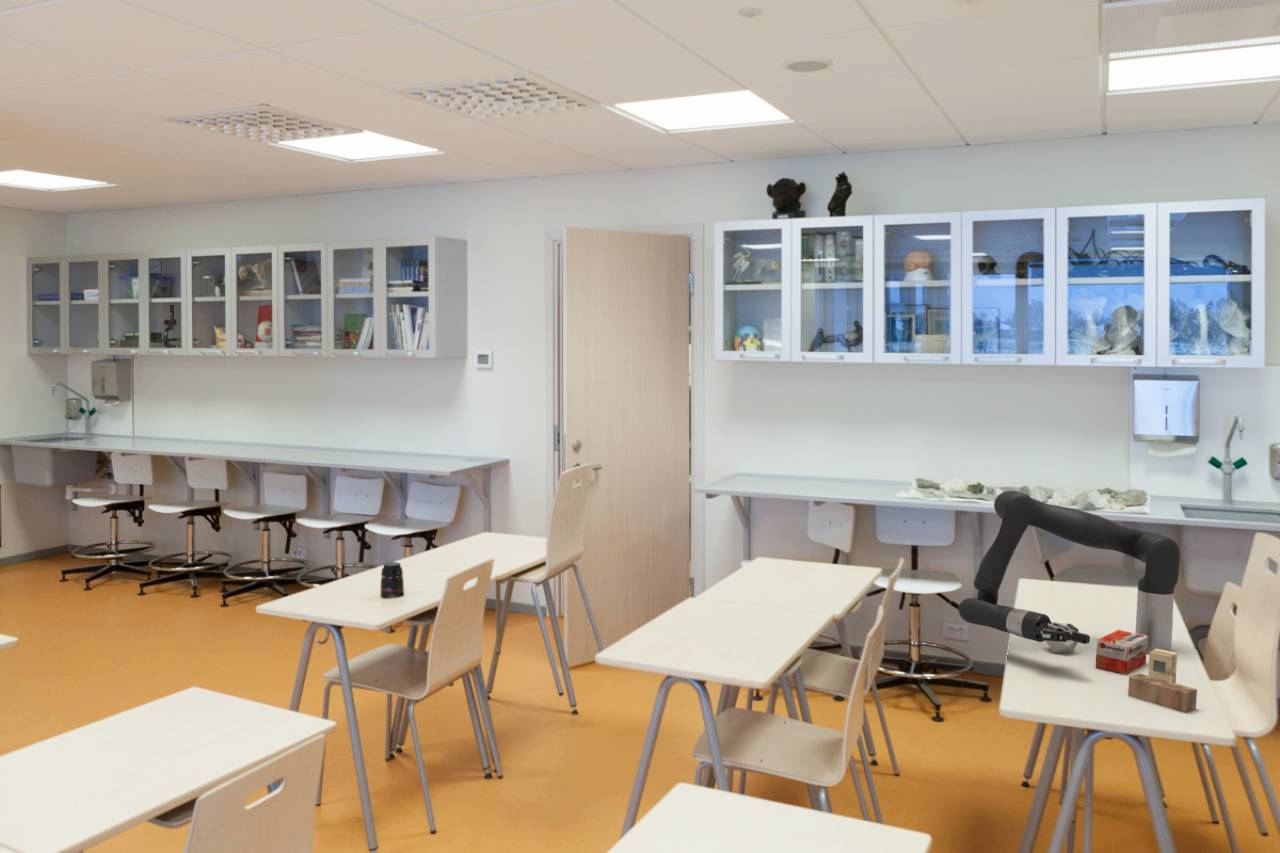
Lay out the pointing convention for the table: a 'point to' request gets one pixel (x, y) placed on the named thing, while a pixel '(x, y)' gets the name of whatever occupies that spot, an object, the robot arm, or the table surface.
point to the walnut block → (1162, 692)
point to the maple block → (1163, 665)
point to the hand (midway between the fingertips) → (1088, 639)
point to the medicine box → (1121, 652)
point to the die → (1062, 645)
